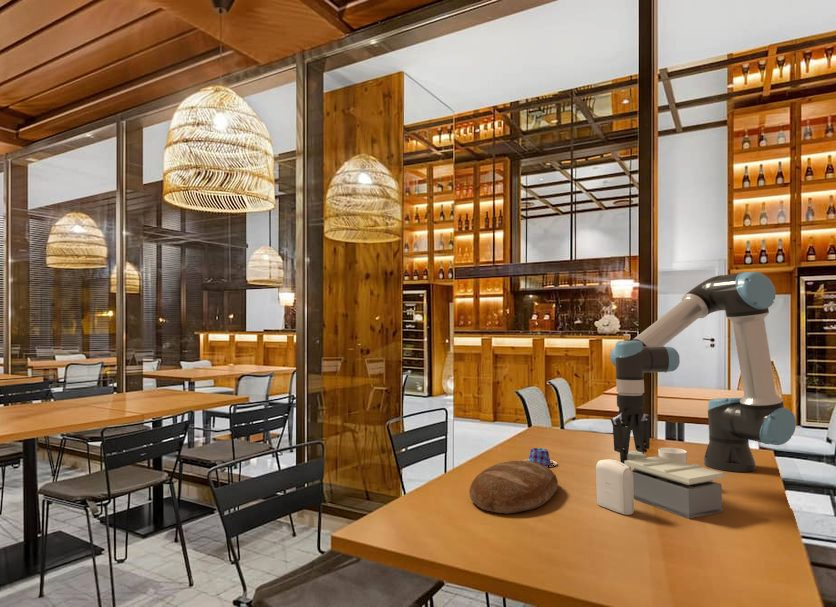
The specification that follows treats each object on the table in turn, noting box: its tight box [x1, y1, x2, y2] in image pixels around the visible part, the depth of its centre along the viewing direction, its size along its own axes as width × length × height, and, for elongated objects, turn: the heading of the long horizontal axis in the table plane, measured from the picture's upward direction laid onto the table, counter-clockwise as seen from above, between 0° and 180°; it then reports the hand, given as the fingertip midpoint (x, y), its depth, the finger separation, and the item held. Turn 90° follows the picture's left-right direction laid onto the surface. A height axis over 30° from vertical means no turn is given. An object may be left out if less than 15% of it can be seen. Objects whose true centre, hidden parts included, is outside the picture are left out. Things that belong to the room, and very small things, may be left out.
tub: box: [631, 468, 723, 520], centre depth 142 cm, size 12×20×7 cm, turn 24°
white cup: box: [657, 447, 688, 464], centre depth 161 cm, size 8×8×10 cm
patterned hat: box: [524, 447, 558, 468], centre depth 186 cm, size 12×12×5 cm
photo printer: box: [595, 458, 635, 516], centre depth 138 cm, size 10×4×12 cm, turn 26°
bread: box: [468, 459, 559, 515], centre depth 151 cm, size 22×37×8 cm, turn 152°
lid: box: [624, 449, 725, 485], centre depth 145 cm, size 13×27×3 cm, turn 25°
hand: (632, 475), depth 155 cm, fingers closed on lid, 4 cm apart
